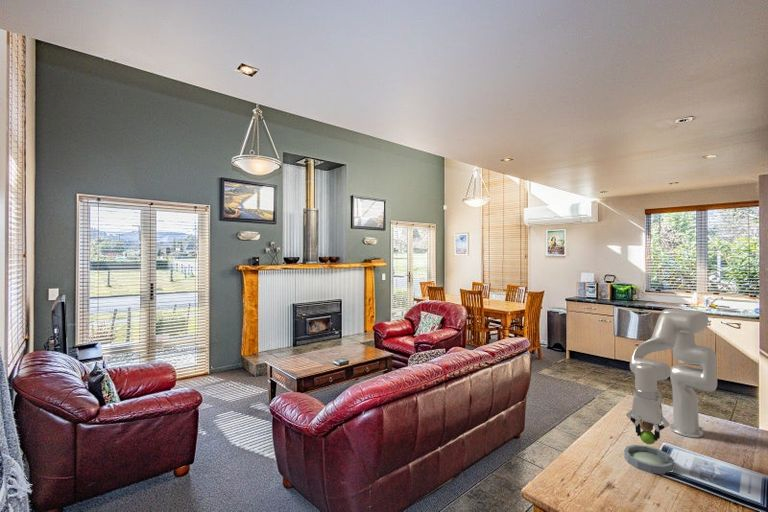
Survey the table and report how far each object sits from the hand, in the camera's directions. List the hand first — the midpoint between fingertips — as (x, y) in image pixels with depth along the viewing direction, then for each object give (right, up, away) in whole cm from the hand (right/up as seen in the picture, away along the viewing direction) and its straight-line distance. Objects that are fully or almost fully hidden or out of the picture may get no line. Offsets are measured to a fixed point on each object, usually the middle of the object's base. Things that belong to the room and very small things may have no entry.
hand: (647, 436), depth 156 cm
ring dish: (+1, -11, 0) cm, 11 cm away
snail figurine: (0, -3, 0) cm, 3 cm away
